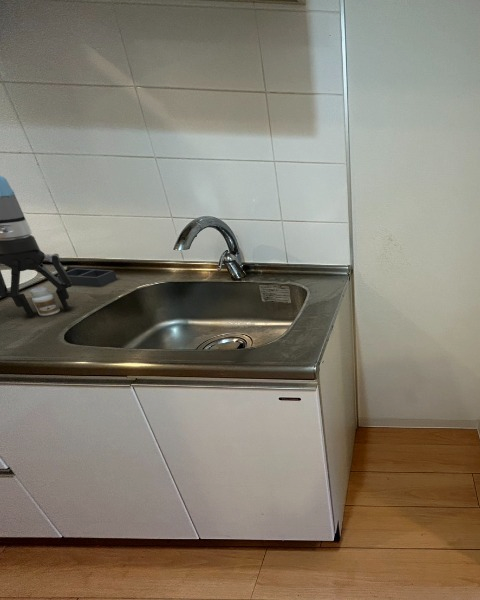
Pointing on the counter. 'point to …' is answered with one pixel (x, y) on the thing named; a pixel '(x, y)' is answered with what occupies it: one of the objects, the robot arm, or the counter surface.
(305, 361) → the counter surface
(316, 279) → the counter surface
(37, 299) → the pill bottle
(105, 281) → the grey divided tray
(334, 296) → the counter surface
